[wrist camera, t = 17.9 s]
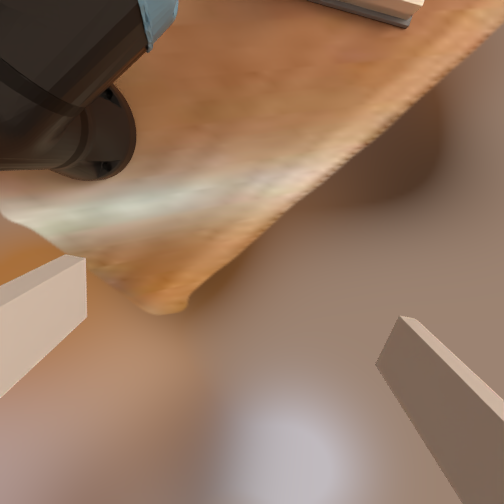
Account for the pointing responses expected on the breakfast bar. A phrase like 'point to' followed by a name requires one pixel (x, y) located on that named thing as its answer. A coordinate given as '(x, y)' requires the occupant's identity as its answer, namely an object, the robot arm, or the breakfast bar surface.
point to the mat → (364, 12)
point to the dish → (390, 6)
